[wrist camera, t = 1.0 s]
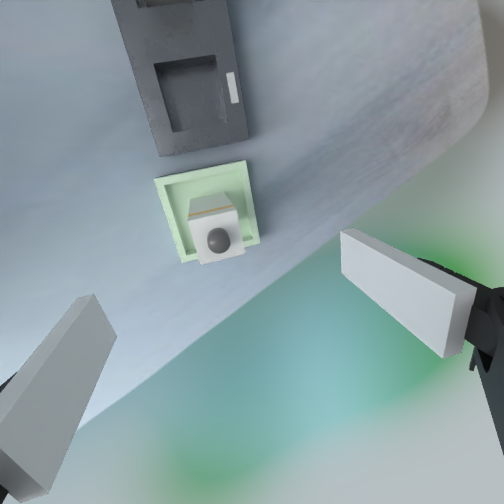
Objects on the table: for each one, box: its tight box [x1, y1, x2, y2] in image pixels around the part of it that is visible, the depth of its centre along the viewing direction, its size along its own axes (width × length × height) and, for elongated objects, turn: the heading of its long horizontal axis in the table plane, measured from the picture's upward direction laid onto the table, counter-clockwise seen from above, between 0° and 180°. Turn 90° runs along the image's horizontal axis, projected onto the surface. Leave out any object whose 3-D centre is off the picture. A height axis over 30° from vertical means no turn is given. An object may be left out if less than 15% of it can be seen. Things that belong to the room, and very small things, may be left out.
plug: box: [188, 192, 245, 265], centre depth 24 cm, size 4×4×11 cm
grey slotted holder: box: [111, 0, 249, 157], centre depth 22 cm, size 9×18×4 cm, turn 11°
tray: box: [154, 160, 260, 263], centre depth 29 cm, size 10×10×2 cm
